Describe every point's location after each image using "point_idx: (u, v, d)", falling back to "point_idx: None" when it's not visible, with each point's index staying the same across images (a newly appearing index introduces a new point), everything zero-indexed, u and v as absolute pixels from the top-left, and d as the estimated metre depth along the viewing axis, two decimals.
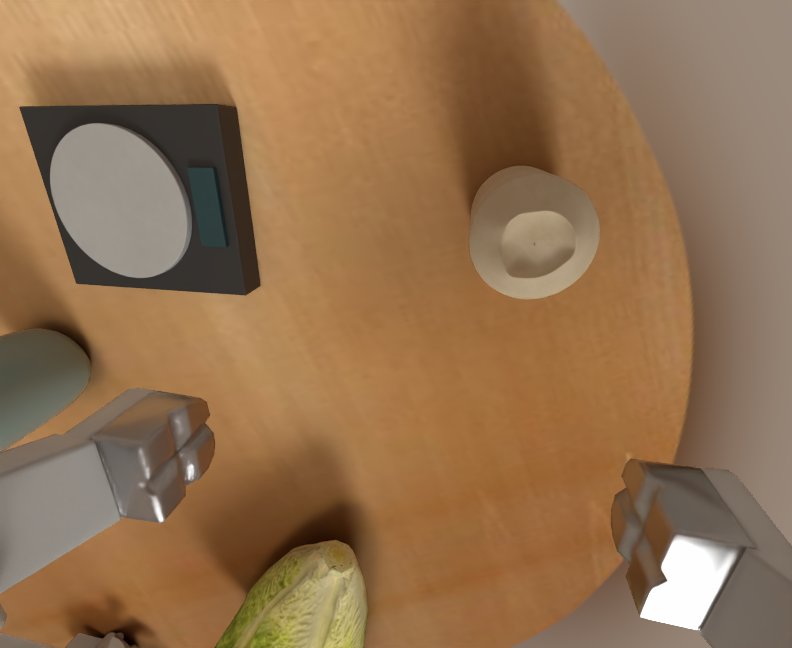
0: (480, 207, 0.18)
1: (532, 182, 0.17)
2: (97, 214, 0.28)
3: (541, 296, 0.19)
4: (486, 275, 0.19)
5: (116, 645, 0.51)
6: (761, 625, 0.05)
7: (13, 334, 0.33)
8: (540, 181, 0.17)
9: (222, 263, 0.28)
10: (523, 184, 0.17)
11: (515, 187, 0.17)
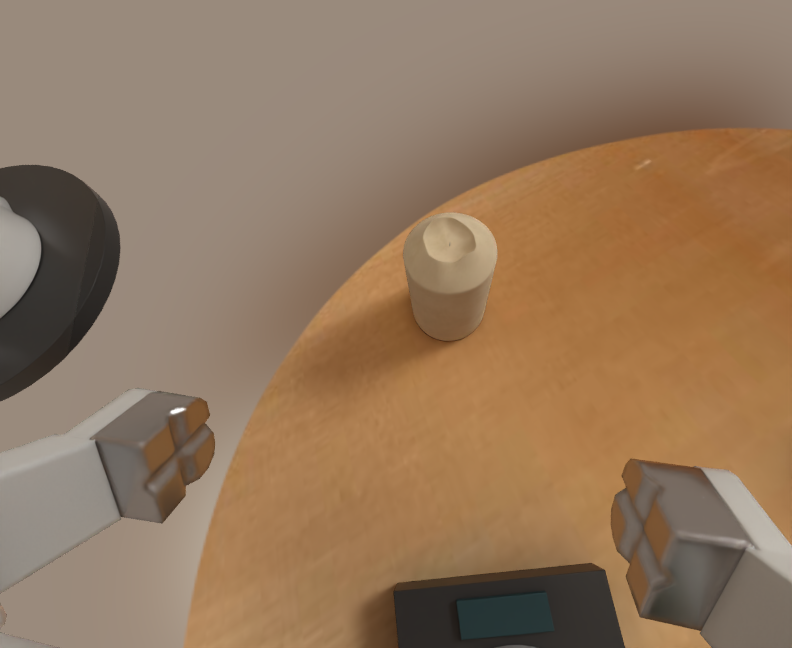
0: (432, 290, 0.23)
1: (409, 260, 0.24)
2: None
3: (491, 234, 0.24)
4: (483, 272, 0.23)
5: None
6: (761, 625, 0.05)
7: None
8: (407, 255, 0.24)
9: (570, 602, 0.23)
10: (411, 265, 0.24)
11: (413, 269, 0.24)
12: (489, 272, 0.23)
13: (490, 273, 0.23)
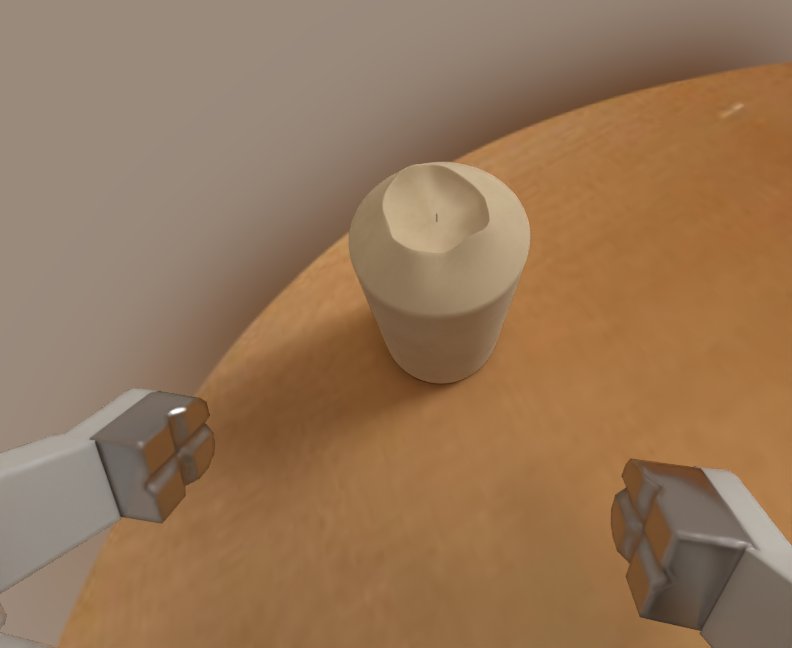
0: (403, 310, 0.12)
1: (357, 250, 0.12)
2: None
3: (517, 200, 0.13)
4: (504, 272, 0.11)
5: None
6: (761, 625, 0.05)
7: None
8: (355, 242, 0.12)
9: None
10: (361, 259, 0.12)
11: (366, 268, 0.12)
12: (516, 273, 0.12)
13: (517, 275, 0.12)
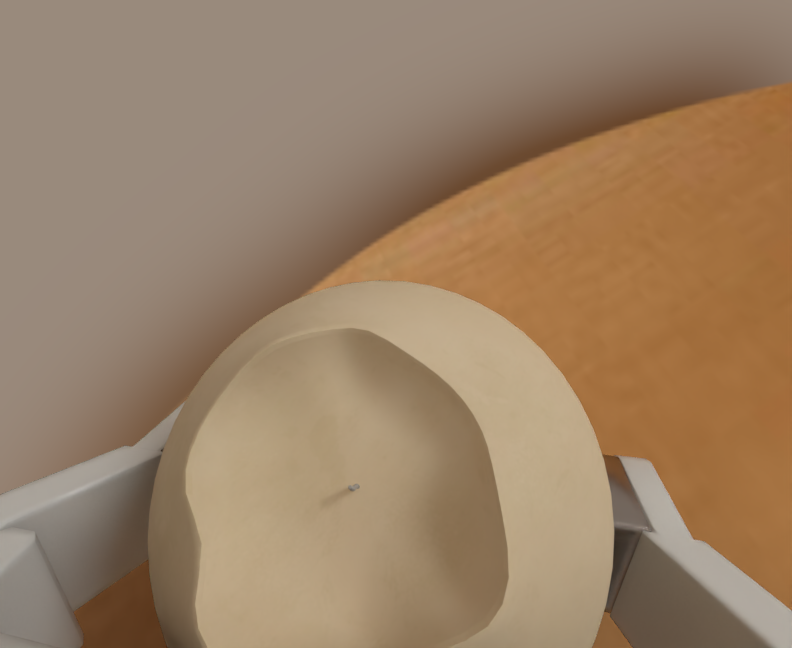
0: None
1: (153, 545, 0.05)
2: None
3: (572, 393, 0.05)
4: None
5: None
6: (655, 605, 0.05)
7: None
8: (154, 515, 0.05)
9: None
10: (156, 580, 0.04)
11: (163, 613, 0.04)
12: None
13: None
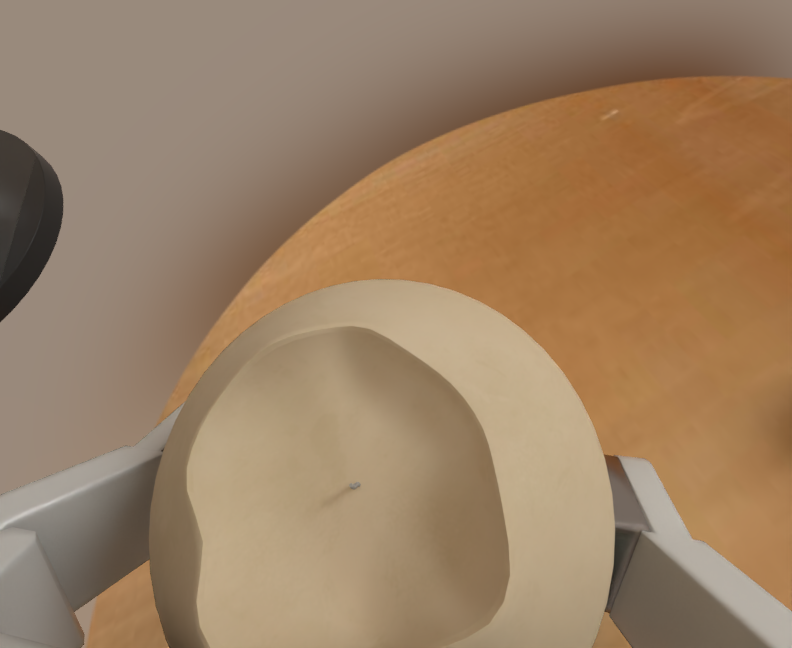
0: None
1: (154, 543, 0.05)
2: None
3: (573, 392, 0.05)
4: None
5: None
6: (655, 605, 0.05)
7: None
8: (155, 513, 0.05)
9: None
10: (157, 578, 0.04)
11: (165, 611, 0.04)
12: None
13: None
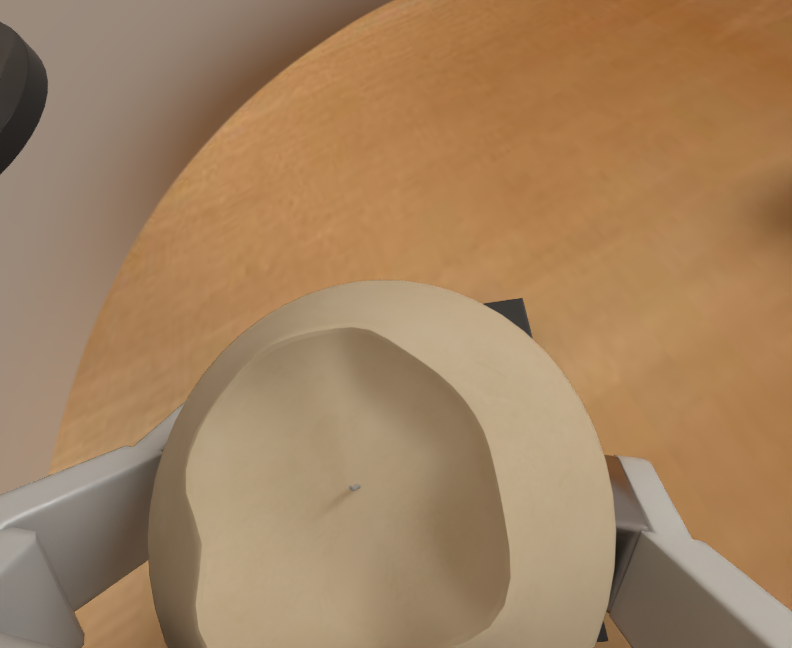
0: None
1: (153, 545, 0.05)
2: None
3: (573, 393, 0.05)
4: None
5: None
6: (655, 605, 0.05)
7: None
8: (154, 515, 0.05)
9: None
10: (156, 580, 0.04)
11: (164, 613, 0.04)
12: None
13: None
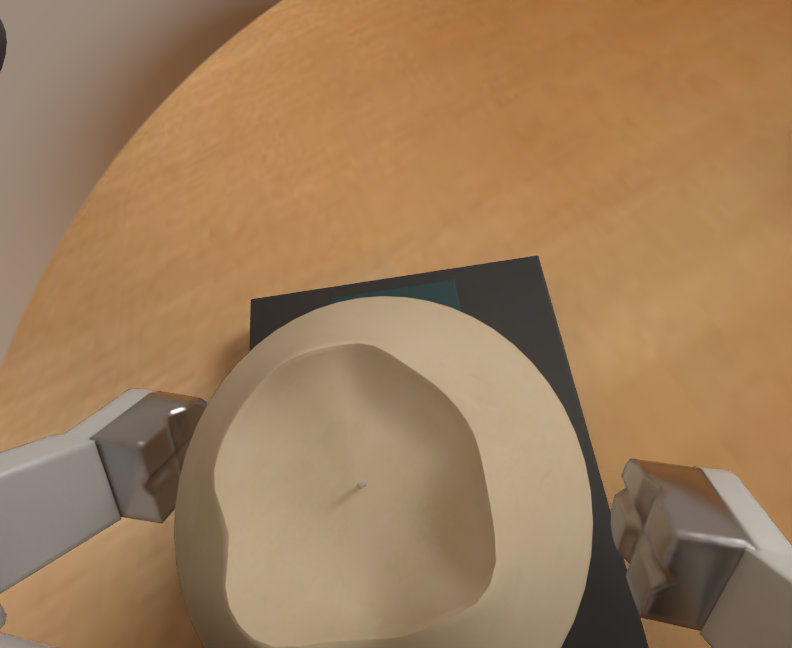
0: None
1: (180, 537, 0.05)
2: None
3: (557, 400, 0.06)
4: None
5: None
6: (761, 625, 0.05)
7: None
8: (180, 510, 0.05)
9: (488, 293, 0.16)
10: (184, 568, 0.05)
11: (192, 597, 0.05)
12: (562, 632, 0.05)
13: (565, 628, 0.05)
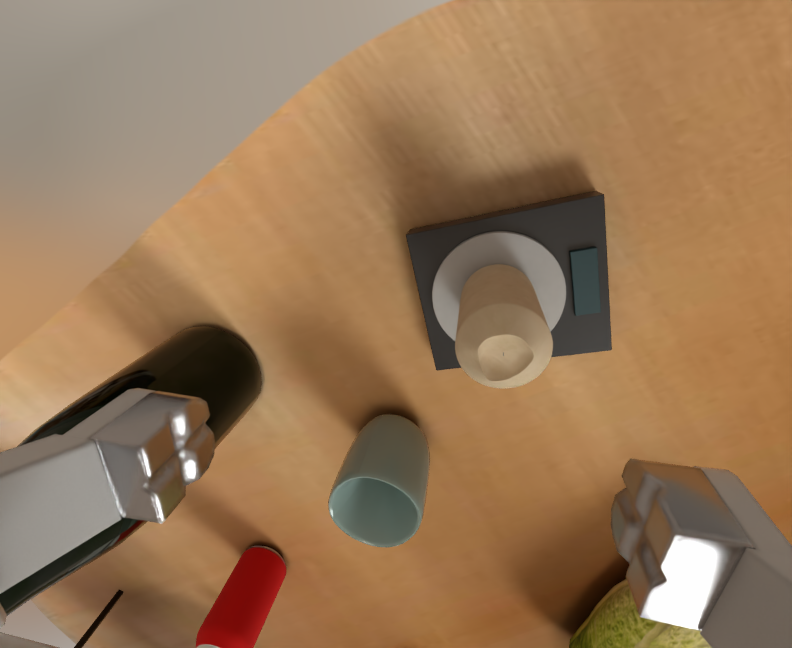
0: (458, 332, 0.24)
1: (490, 312, 0.23)
2: None
3: (522, 384, 0.25)
4: (475, 378, 0.25)
5: None
6: (761, 625, 0.05)
7: (380, 424, 0.37)
8: (496, 310, 0.23)
9: (591, 326, 0.32)
10: (484, 314, 0.23)
11: (479, 317, 0.23)
12: (477, 381, 0.25)
13: (477, 381, 0.25)
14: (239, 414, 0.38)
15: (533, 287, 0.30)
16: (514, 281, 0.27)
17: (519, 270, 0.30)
